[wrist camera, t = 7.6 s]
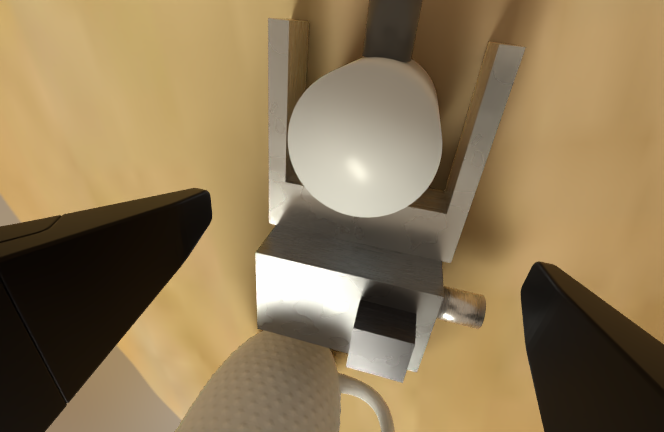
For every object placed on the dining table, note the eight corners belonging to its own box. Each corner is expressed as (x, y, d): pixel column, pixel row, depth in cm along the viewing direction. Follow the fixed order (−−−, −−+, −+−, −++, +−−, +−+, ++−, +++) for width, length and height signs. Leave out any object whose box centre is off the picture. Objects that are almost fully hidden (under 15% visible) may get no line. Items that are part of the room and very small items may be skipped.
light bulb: (464, 5, 16) (486, -7, 10) (423, 170, 20) (421, 230, 14) (340, -7, 17) (291, -25, 11) (326, 152, 21) (286, 202, 15)
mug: (405, 321, 26) (387, 539, 15) (397, 407, 31) (381, 615, 20) (231, 295, 30) (114, 456, 18) (251, 376, 35) (169, 539, 24)
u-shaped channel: (567, 50, 16) (673, 68, 9) (461, 311, 24) (473, 422, 17) (291, 19, 18) (206, 15, 11) (284, 268, 26) (235, 352, 20)
